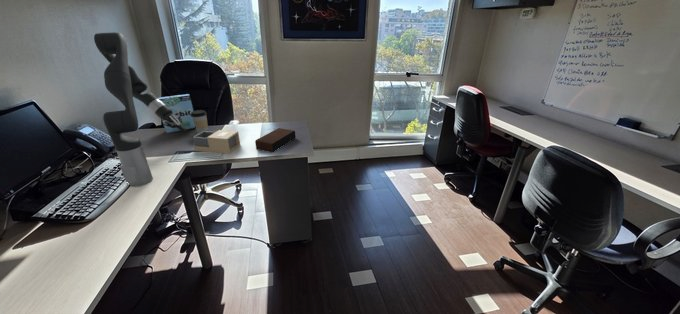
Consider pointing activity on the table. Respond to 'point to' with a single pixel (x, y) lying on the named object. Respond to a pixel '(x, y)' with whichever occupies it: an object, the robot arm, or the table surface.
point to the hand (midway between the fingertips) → (184, 130)
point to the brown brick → (275, 139)
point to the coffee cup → (200, 120)
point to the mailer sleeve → (220, 142)
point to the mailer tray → (202, 140)
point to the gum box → (179, 110)
